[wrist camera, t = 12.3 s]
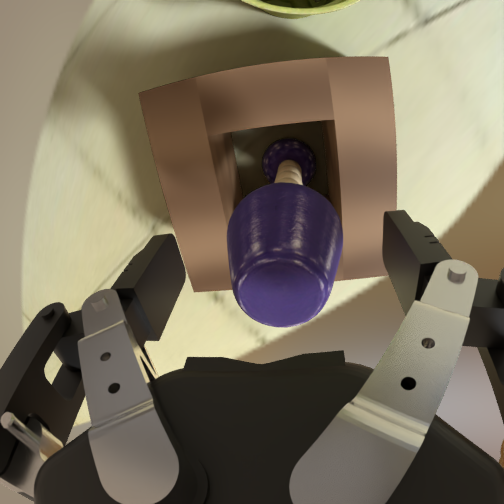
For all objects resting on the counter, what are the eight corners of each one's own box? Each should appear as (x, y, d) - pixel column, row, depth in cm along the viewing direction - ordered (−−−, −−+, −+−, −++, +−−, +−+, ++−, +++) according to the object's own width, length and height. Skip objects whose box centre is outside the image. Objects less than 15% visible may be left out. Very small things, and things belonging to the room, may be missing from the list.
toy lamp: (253, 185, 25) (209, 342, 10) (257, 129, 22) (205, 219, 8) (312, 191, 24) (344, 354, 10) (319, 136, 22) (384, 238, 8)
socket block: (177, 89, 21) (138, 93, 15) (358, 64, 19) (388, 56, 13) (213, 244, 28) (194, 292, 22) (369, 229, 26) (392, 274, 20)
